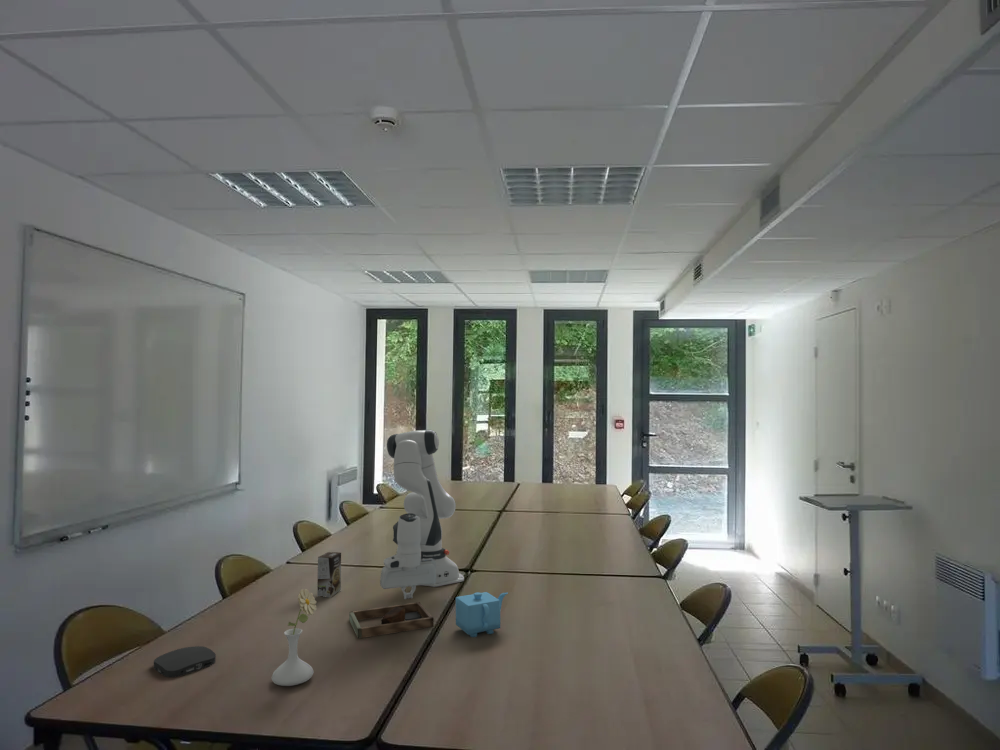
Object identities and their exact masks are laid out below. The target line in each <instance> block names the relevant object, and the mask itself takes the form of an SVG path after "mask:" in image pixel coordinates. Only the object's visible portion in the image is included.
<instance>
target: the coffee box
mask: <svg viewBox="0 0 1000 750" xmlns="http://www.w3.org/2000/svg"><path fill="white" fill-rule="evenodd" d="M316 585H317V586H316V587H317V589H316V594H317V595H316V597H318V596H323V597H322V598H329V597H330V598H332V597H333V595H334V594H335V595H337V594H338V593H339V591H340V590H341V591H342V586H341V585H342V552H338V551H337V552H332V551H331V552H330V551H329V552H326V553H324V554H322V555H320V556H318V557H317V584H316ZM341 591H340V592H341ZM337 592H338V593H337ZM336 593H337V594H336ZM335 595H334V596H335ZM325 596H326V597H325ZM331 596H332V597H331Z"/></svg>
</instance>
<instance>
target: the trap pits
mask: <svg viewBox="0 0 1000 750" xmlns="http://www.w3.org/2000/svg"><path fill="white" fill-rule="evenodd" d="M421 618H422V616H421V615H420V614H419V613H418V611H416V612H409V613H405V620H404V621H408V620H415V619H421Z"/></svg>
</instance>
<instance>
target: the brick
mask: <svg viewBox="0 0 1000 750" xmlns="http://www.w3.org/2000/svg"><path fill="white" fill-rule="evenodd" d="M401 621H405V608H402V607H395V608H394V609H392V610H391V611H389V612H388V613H386V614H385V615H384V616H382V618H381V620H380V625H382V624H388V623H395V622H401Z"/></svg>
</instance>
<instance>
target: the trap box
mask: <svg viewBox="0 0 1000 750" xmlns="http://www.w3.org/2000/svg"><path fill="white" fill-rule="evenodd" d="M395 607H402V608H405V613H409V612H416V611H417V612H418V613H419V615H420V616H421V617H422V618H421V619H415V620H408V621H405V620H404V621H401V622H395V623H388V624H382V625H381V624H377V625H376V624H375V625H370V626H363V627H362V626H361V625H360V623H359V621H360V620H361V621H362V620H367V619H375V618H381V617H382V618H383V616H384V615H385V614H386V613H388V612H389V611H391V610H392V609H394V608H395ZM348 619H349V623H350V624H351V627H352V629H353V630H354V632H355V634H356V637H357V639H363V638H370V637H377V636H382V635H388V634H395V633H401V632H407V631H408V632H409V631H414V630H415V631H416V630H421V629H426V628H427V629H428V628H433V627H434V624H435V623H434V622H435V621H434V617H433V615H432V614H431V613H430V612H429V611H428V610H427V609H426V607H424V605H423V604H422V603H421V602H420V601H417V602H416V601H415V602H410V603H409V602H408V603H403V604H395V605H388V606H380V607H374V608H367V609H360V610H359V609H358V610H353V611H349V618H348Z"/></svg>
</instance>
